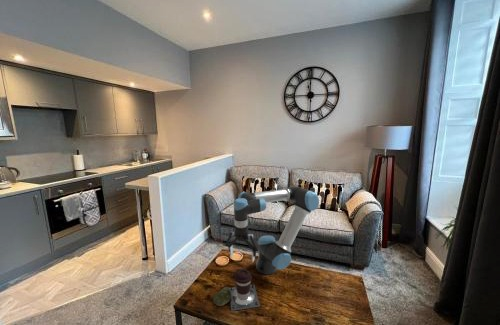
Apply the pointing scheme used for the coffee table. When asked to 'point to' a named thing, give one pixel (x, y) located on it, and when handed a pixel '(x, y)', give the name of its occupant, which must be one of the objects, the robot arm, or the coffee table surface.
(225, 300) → the seashell
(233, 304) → the duct flange
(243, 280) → the coffee cup
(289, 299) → the coffee table surface
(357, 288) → the coffee table surface
